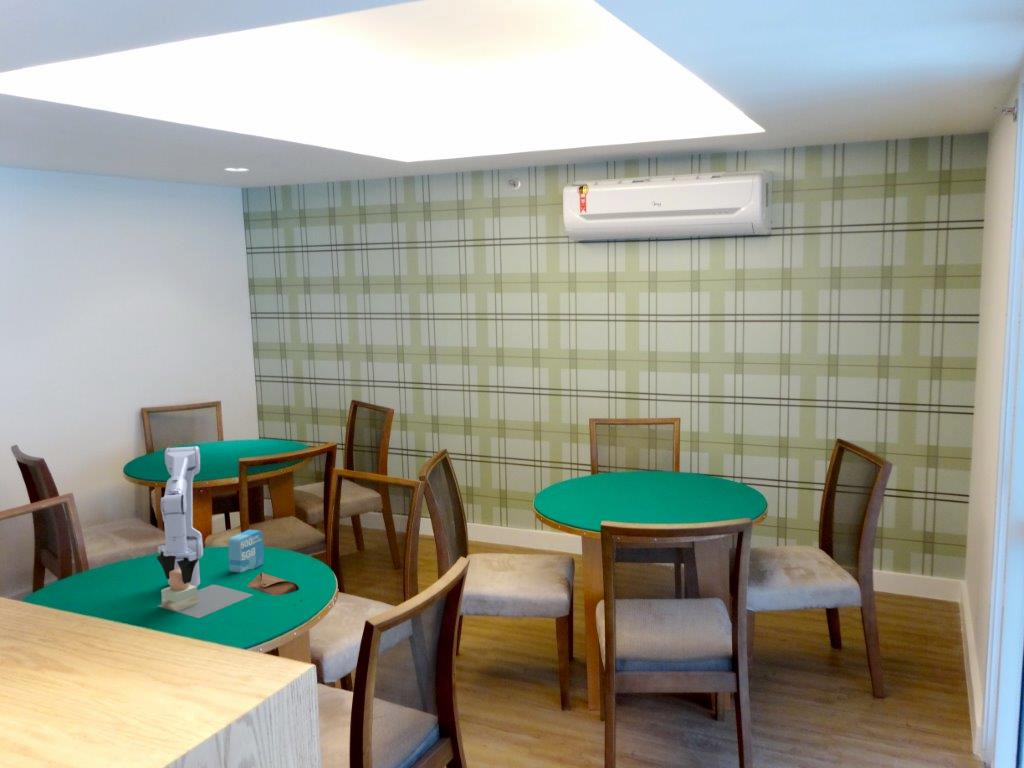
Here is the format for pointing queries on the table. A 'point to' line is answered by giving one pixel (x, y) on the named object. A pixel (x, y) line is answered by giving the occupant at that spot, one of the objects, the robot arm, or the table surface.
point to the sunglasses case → (272, 585)
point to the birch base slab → (180, 603)
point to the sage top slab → (179, 594)
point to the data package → (246, 551)
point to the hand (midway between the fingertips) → (178, 580)
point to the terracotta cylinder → (177, 581)
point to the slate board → (212, 600)
